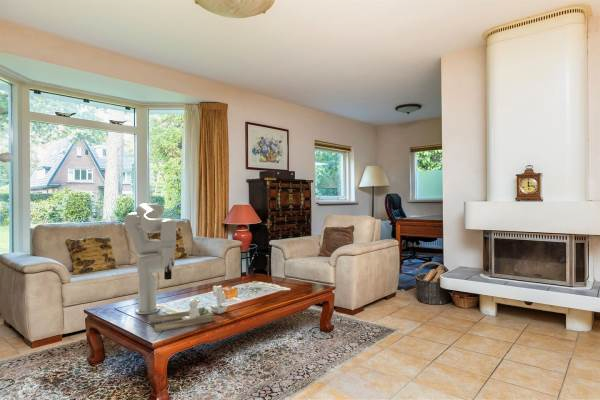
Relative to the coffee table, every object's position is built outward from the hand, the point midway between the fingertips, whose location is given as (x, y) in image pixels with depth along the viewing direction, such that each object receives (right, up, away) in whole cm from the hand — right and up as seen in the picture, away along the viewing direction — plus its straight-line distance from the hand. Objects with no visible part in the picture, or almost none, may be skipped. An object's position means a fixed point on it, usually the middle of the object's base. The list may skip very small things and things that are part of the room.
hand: (167, 279), depth 190 cm
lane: (+6, -23, +3) cm, 24 cm away
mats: (-4, -23, -3) cm, 24 cm away
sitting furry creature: (+12, -24, +5) cm, 27 cm away
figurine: (+22, -23, +20) cm, 38 cm away
